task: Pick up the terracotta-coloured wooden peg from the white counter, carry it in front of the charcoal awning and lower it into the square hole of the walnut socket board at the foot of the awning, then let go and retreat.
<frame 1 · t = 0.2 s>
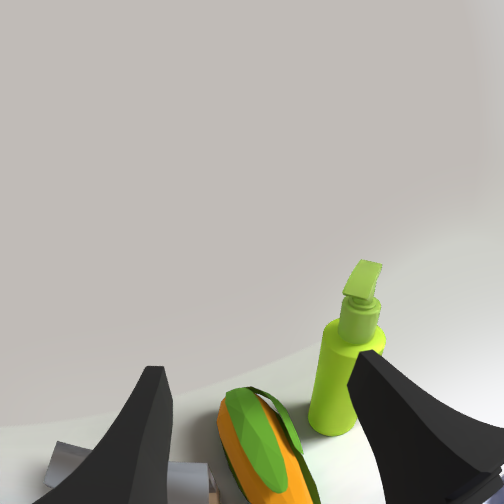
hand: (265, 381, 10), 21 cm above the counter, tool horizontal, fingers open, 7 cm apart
soap dispenser: (330, 420, 29), on the counter
corn: (269, 476, 22), on the counter
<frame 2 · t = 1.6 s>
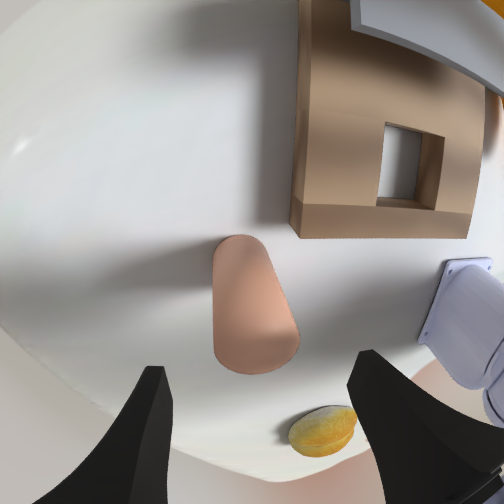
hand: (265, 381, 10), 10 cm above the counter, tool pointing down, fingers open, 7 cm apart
bread roll: (321, 422, 30), on the counter
socket station: (395, 126, 16), on the counter
corn: (493, 62, 14), on the counter
peg: (240, 260, 19), on the counter
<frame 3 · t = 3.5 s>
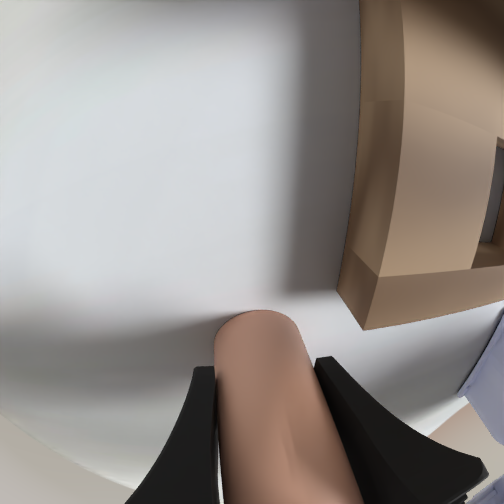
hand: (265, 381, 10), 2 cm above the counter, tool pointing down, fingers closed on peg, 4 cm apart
socket station: (484, 140, 9), on the counter
peg: (257, 344, 12), on the counter, touching gripper
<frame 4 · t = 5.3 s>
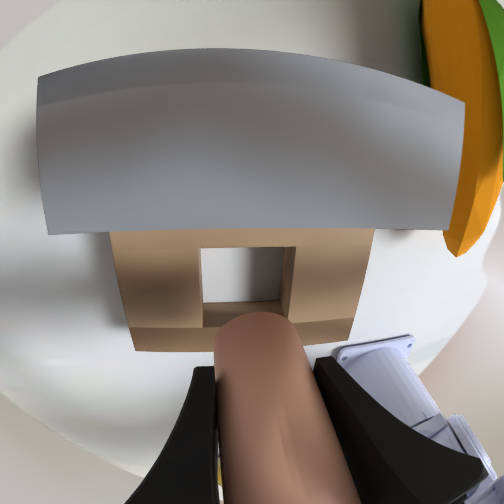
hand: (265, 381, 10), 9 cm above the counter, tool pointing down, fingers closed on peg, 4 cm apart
socket station: (242, 229, 17), on the counter
corn: (441, 104, 15), on the counter
peg: (256, 345, 12), point 7 cm above the counter, touching gripper
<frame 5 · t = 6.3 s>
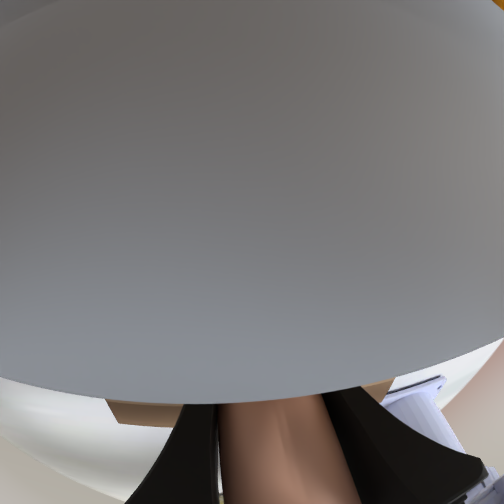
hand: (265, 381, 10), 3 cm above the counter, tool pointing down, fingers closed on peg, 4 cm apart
socket station: (256, 278, 12), on the counter
peg: (256, 345, 12), point 1 cm above the counter, touching gripper
when the fingers open (3 cm above the counter, at t = 7.0 s): peg drops 1 cm, resting in socket station.
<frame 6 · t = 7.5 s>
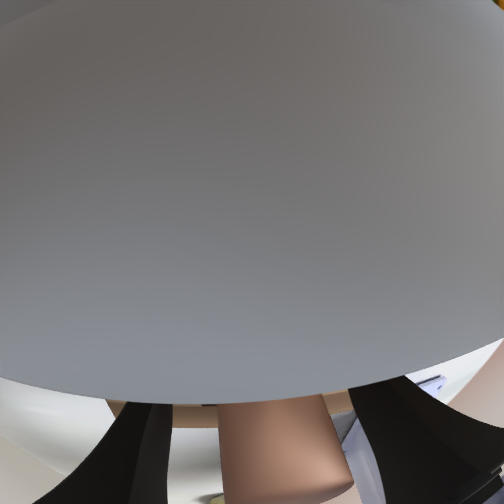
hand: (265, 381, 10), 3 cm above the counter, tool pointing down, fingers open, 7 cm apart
bread roll: (244, 497, 25), on the counter
socket station: (256, 278, 12), on the counter
peg: (253, 329, 13), resting in socket station
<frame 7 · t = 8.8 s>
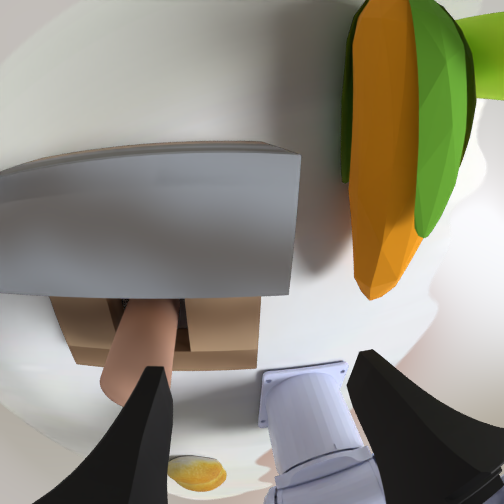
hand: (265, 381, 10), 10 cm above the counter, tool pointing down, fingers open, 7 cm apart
bread roll: (196, 464, 32), on the counter
soap dispenser: (440, 65, 14), on the counter
socket station: (149, 269, 18), on the counter
corn: (376, 136, 16), on the counter
peg: (155, 302, 19), resting in socket station
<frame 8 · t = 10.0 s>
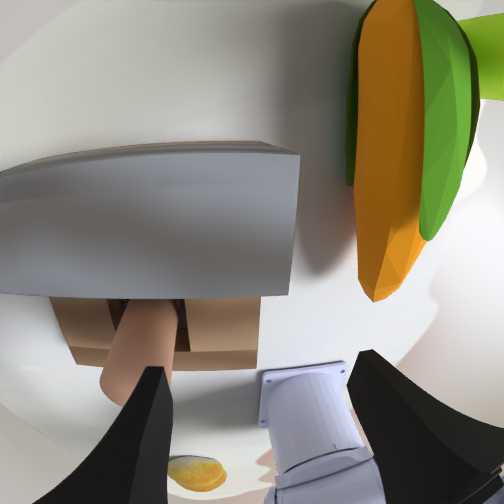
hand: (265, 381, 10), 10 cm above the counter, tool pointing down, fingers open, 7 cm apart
bread roll: (196, 464, 32), on the counter
soap dispenser: (442, 65, 14), on the counter
socket station: (149, 269, 18), on the counter
corn: (380, 139, 17), on the counter
peg: (155, 302, 19), resting in socket station
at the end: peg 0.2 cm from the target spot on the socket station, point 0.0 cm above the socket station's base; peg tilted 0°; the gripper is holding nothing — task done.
